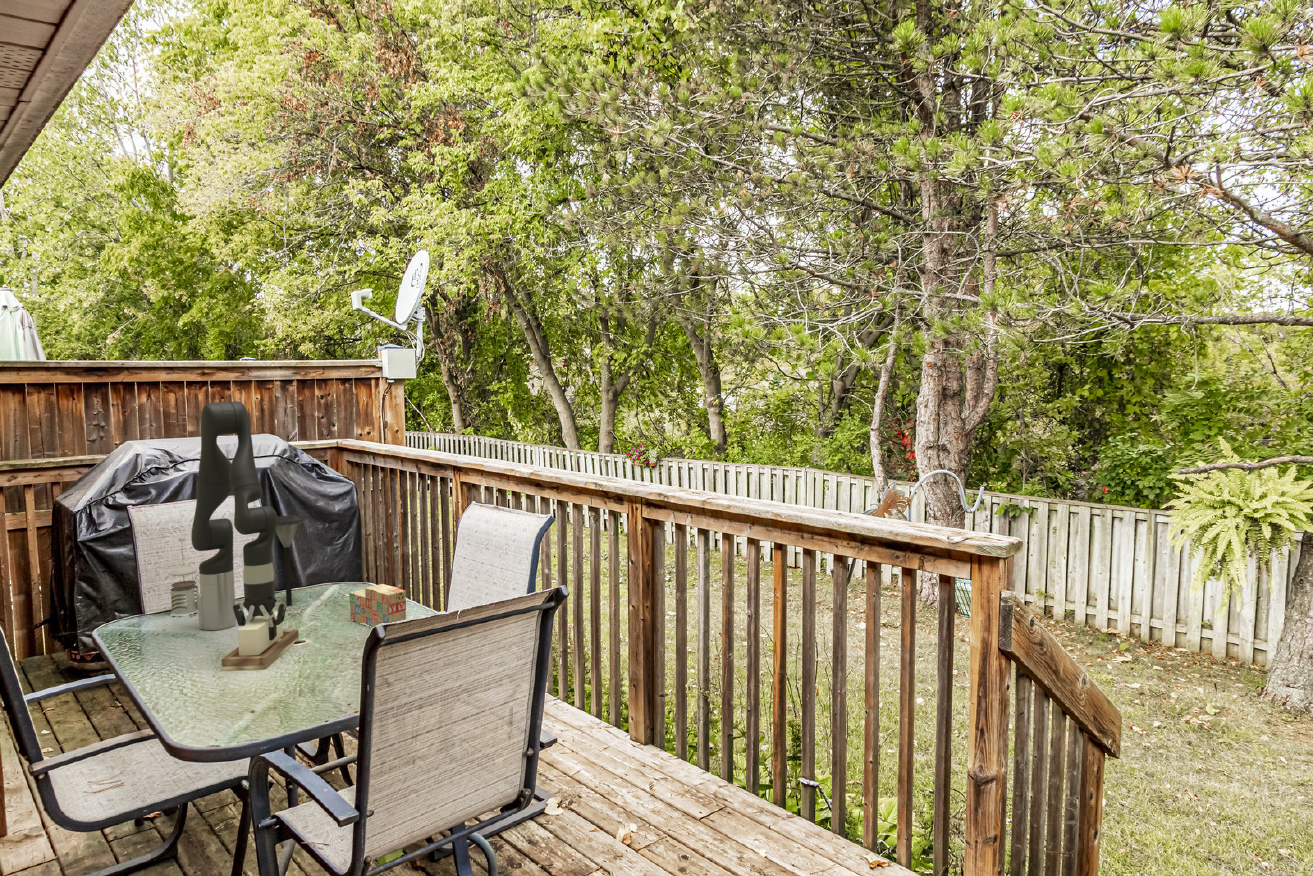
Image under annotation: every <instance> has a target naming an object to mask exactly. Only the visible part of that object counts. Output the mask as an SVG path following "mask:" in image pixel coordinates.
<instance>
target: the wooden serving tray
mask: <svg viewBox="0 0 1313 876" xmlns="http://www.w3.org/2000/svg"><path fill="white" fill-rule="evenodd" d="M299 634H300V633H299V629H285V630H284V629H283V636H282V637H281V638H279V639H278V640H277V641H276V642H274V643H273V644H272V645H271V646H269V647H268V648H267V649H265V650H264V651H263V652H262V653H260V654H259V655H245V656H239V646H237V647H236V648H235V649H233V650H232V651H231V652H229V653H228V654H227V655H225V656H224V657H223V658H221V670H222V671H245V670H250V671H251V670H253V671H254V670H266V669H268V667H269V666H271V665H272V664H274V662H276V661H277V660H278V659H279V658H280V657H281V656H282V655H284V653H286V652H287V651H288V650H289V649H290V648H291V647H293V644H294V643H295V642H296V641H297V642H298V641H299V637H300V635H299ZM297 642H296V643H297ZM296 643H295V644H296ZM295 644H294V645H295ZM286 650H287V651H286ZM285 651H286V652H285ZM276 659H277V660H276Z"/></svg>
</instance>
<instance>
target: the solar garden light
mask: <svg viewBox="0 0 1313 876" xmlns="http://www.w3.org/2000/svg"><path fill="white" fill-rule="evenodd" d="M277 518H278V521H277V527H276V530H275V533H276V536H277V538H278V539H279V541H280V543H281V544H282V546H283V554H284V555H283V556H284V559H283V560H284V576H285V577H284V579H285V600H286V601H285V602H287V607H289V606H293V596H292V595H293V594H292V593H293V591H292V571H291V548H290V546H291V544H292V542H293V539H294V537H295V535H296V533H297V530H298V528H299V525H300V524H303V523H305V522H306V520H305V519H303V518H301V517H299V516H297V515H292V514H291V515H290V514H289V515H280V516H277Z"/></svg>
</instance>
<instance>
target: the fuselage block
mask: <svg viewBox="0 0 1313 876" xmlns="http://www.w3.org/2000/svg"><path fill="white" fill-rule="evenodd" d="M274 614H275V618H276V619H277V614H278V611H274ZM283 622H284V621H283ZM283 622H282V623H281V624H279V625H277V626H276V627H277V636H276V637H275V639H273V640H269V627H270V626H269V624H268V622H267V620H265V617H264V616H256V617H255V619H254V620H252V621H251V622H249V623H247V624H246V625H244V626H240V628H239V629H237V642H238V644H237V645H238V647H239V656H245V655H259V654H260V653H262V652H263V651H264V650H265V649H267V648H268V647H269V646H271V645H272V644H273V643H274V642H276V641H277V640H278V639H279V638H281V637H282V636H283V630H284V624H283Z"/></svg>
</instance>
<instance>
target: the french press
mask: <svg viewBox="0 0 1313 876" xmlns="http://www.w3.org/2000/svg"><path fill="white" fill-rule="evenodd" d="M177 539H178V542H181V544H183V542H185V541H186V538H185V537H184V536H181V537H179V538H177ZM181 557H182V558H181V559H182V560H181V561H182V563H184V551H183V547H181ZM198 571H199V568H196V567H194V566H188V565H187V566H185V565H181V566H179V567H176V568H174V569H172V570H170V571H169V572H168V574H169V576H173V577H179V576H181V577H182V576H183V581H176V582H173V583H172V584H171V587H172V588H171V589H170V602H171V603H170V604H171V608H170V609H171V611H172V613H175V614H194V613H196V612H198V598H200V597H201V594H200V592H199V586H198V585H197V583H199V584H200V579H198V577H199V578H200V575H198V574H197V575H196V576H192V580H185V576H188V575H193V574H195V573H197V572H198ZM197 581H198V582H197ZM174 609H175V610H174Z"/></svg>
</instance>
